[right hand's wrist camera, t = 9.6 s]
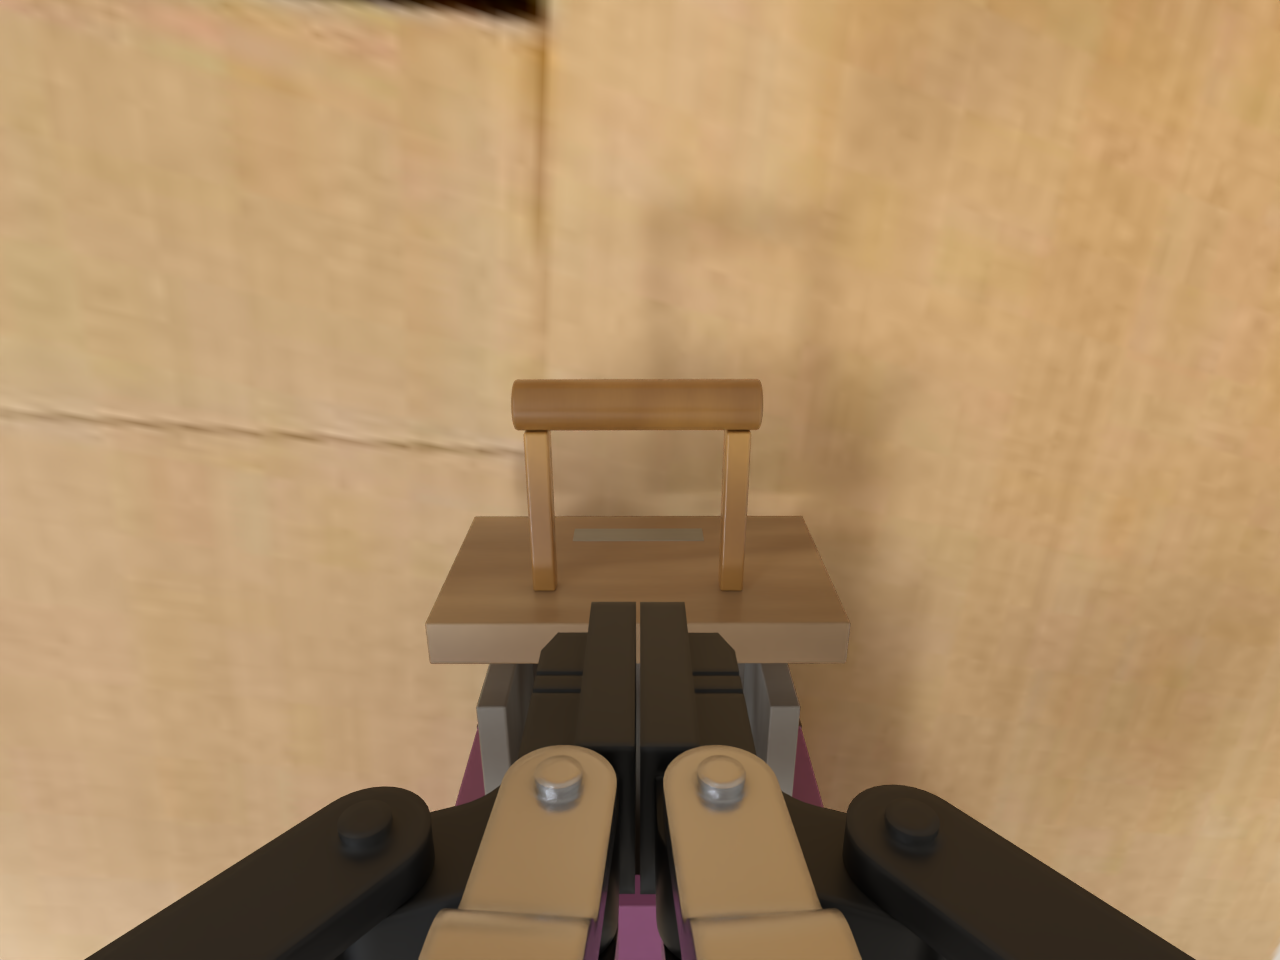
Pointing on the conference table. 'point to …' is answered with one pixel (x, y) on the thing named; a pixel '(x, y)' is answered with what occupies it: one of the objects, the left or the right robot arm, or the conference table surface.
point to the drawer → (638, 569)
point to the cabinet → (639, 909)
